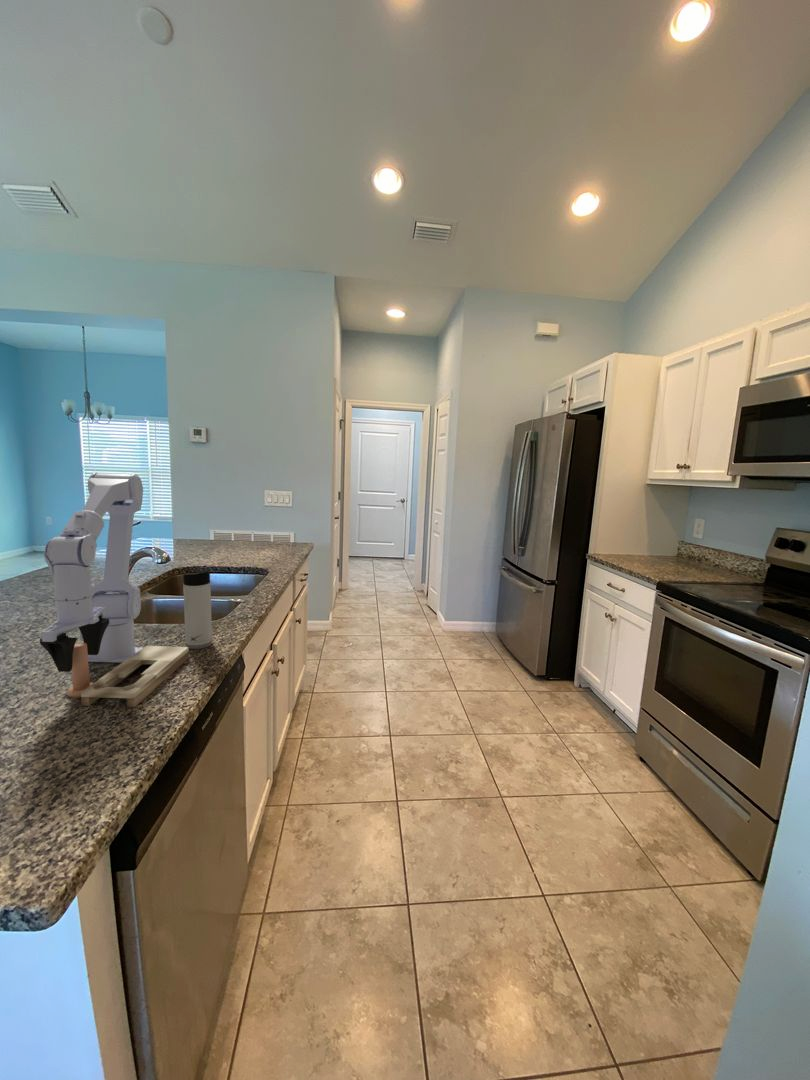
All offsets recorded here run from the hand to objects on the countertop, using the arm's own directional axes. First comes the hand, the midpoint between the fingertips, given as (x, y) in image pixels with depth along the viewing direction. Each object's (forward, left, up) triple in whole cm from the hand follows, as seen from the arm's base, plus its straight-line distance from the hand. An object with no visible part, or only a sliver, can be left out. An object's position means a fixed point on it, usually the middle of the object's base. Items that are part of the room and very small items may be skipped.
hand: (79, 662), depth 87 cm
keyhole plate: (+8, +6, -6) cm, 12 cm away
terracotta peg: (0, 0, -6) cm, 6 cm away
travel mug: (+12, +25, -7) cm, 29 cm away
